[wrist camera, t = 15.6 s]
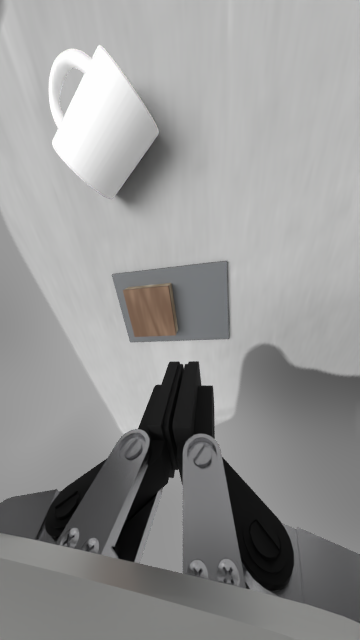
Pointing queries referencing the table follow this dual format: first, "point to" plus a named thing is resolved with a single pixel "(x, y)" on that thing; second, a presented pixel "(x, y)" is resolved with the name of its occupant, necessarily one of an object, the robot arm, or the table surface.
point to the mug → (99, 121)
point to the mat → (185, 299)
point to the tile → (151, 310)
